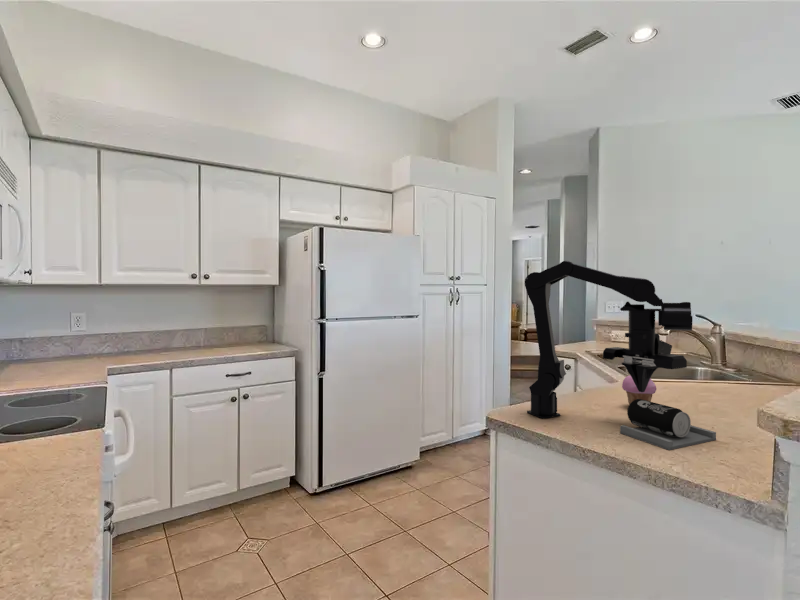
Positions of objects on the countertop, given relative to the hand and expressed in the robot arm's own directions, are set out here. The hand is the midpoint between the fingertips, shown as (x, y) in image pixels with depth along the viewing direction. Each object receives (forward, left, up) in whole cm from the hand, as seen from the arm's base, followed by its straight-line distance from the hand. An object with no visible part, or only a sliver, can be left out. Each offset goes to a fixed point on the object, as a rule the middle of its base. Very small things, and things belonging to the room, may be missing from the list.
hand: (641, 391), depth 104 cm
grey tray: (0, -6, -9) cm, 11 cm away
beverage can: (0, +2, -5) cm, 6 cm away
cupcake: (+16, +13, -9) cm, 23 cm away
